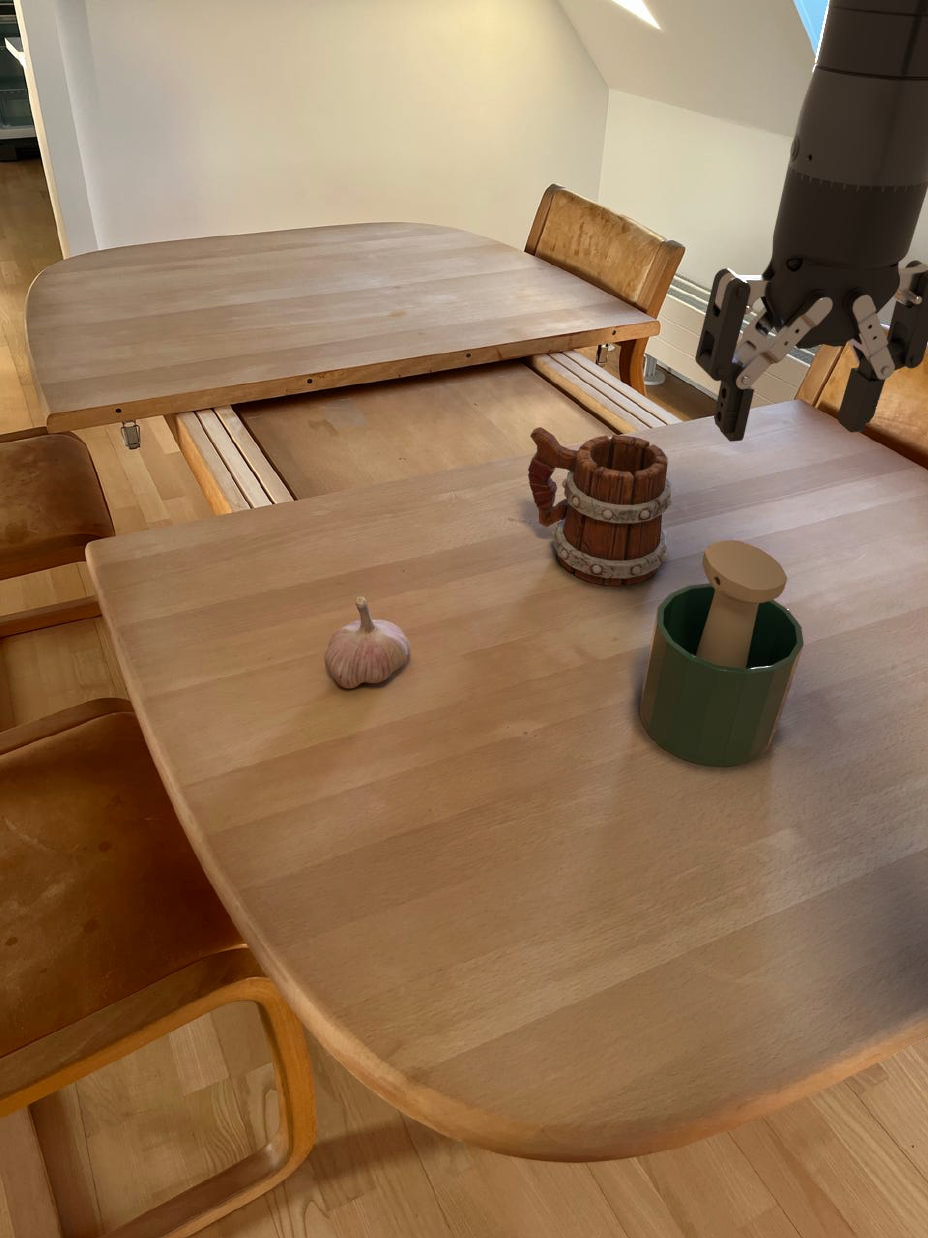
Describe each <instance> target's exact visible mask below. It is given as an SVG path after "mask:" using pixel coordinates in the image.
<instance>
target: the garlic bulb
mask: <svg viewBox="0 0 928 1238" xmlns="http://www.w3.org/2000/svg"><path fill="white" fill-rule="evenodd" d="M354 602H355V603H354V604H355V606H356V609H357V611H358V613H359V616H360V619H359V620H353V621H350V622H348V623H346V624H345V625H344V626H343V627H341V628H339V629H338V630H336V631H335V632H334V633H333V634H332V636H331V637H330V639H329V642H328V647H327V649H326V651H325V654H324V666H325V668H326V670H327V671H328V672H329V673H330V674H331V675H332V676H333V678H334V680H335V682H336V683H337V684H338V685H339V686H340V687H342V688H345V689H354V688H356V687H358V686H359V685H361V684H363V683H370V684H378V683H381V682H384V681H386V680H387V679H388V678H389V677H390V676H391V675H392V673H394V672H395V671H396V670H399V669H400V668H401V667H402V666H403V665H404V664H405V663H406V662H407V661H408V660H409V658H410V656H411V653H412V652H411V651H412V646H411V643H410V641H409V639H408V637H407V636H406V635H405V634H404V631H403V630H402V629H401V628H400V627H399V626H398V625H397V624H395V623H393V622H390V621H388V620H385V619H373V618H372V616H371V614H370V613H371V612H370V609H369V604H368V602H367V600H366V598H365V597H364V596H360V595H359V596H357V598H355V601H354Z"/></svg>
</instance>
